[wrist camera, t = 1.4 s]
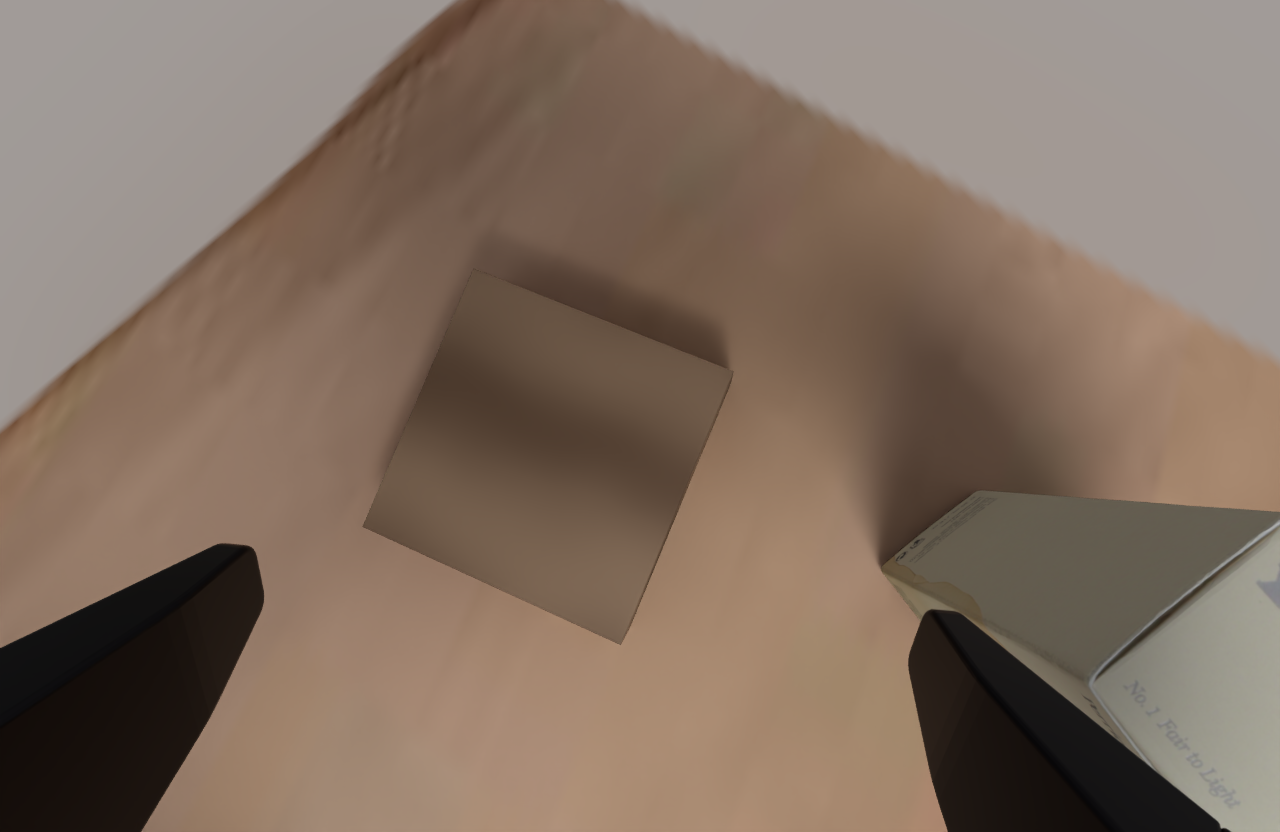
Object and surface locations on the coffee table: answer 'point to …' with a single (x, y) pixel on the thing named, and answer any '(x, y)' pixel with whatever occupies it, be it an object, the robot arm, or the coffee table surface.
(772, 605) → the coffee table surface
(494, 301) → the walnut plinth
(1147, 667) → the skincare box
